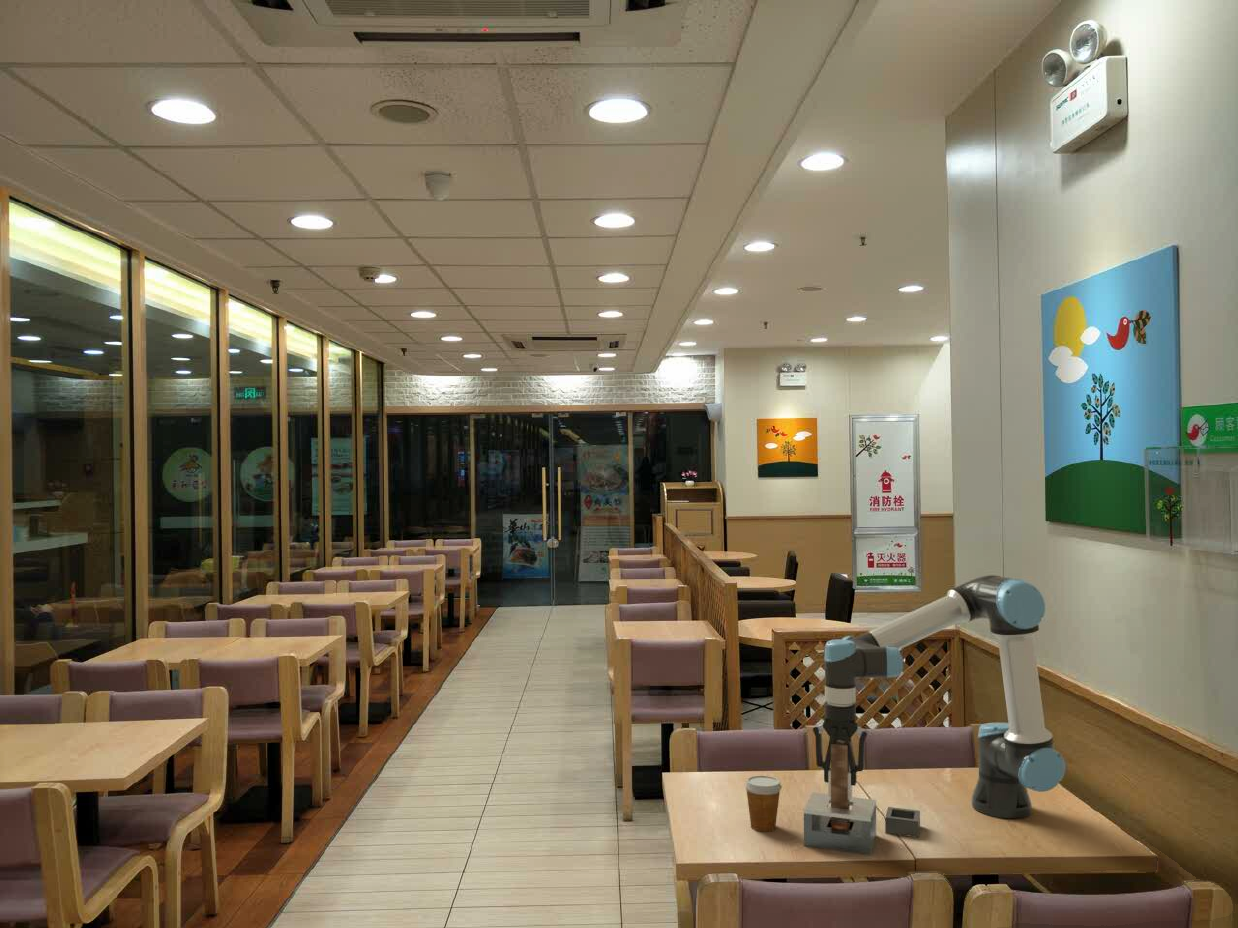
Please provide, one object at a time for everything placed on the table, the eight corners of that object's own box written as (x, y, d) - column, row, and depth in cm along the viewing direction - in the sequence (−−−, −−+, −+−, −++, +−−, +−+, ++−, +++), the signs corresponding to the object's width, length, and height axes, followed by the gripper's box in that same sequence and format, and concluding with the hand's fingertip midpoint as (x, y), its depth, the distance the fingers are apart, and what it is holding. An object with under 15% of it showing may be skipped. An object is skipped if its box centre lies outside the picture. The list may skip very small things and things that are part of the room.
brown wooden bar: (849, 821, 238) (849, 741, 238) (847, 826, 234) (847, 745, 234) (833, 818, 239) (833, 739, 240) (830, 824, 236) (830, 743, 236)
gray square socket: (920, 825, 246) (920, 810, 246) (918, 837, 239) (918, 821, 239) (888, 821, 249) (888, 806, 249) (885, 832, 242) (885, 817, 242)
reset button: (850, 836, 238) (850, 820, 238) (848, 843, 234) (848, 827, 234) (832, 834, 240) (832, 818, 240) (830, 840, 236) (830, 824, 236)
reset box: (876, 835, 240) (876, 799, 240) (870, 854, 228) (870, 817, 228) (812, 826, 246) (812, 792, 246) (803, 845, 234) (803, 808, 234)
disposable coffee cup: (756, 817, 253) (756, 772, 253) (788, 825, 247) (788, 779, 247) (737, 827, 245) (737, 781, 245) (769, 836, 239) (769, 789, 239)
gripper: (876, 702, 238) (876, 795, 237) (808, 696, 244) (808, 787, 243) (873, 709, 230) (873, 805, 230) (803, 703, 237) (803, 797, 236)
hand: (840, 796), depth 237 cm, fingers closed on brown wooden bar, 4 cm apart
